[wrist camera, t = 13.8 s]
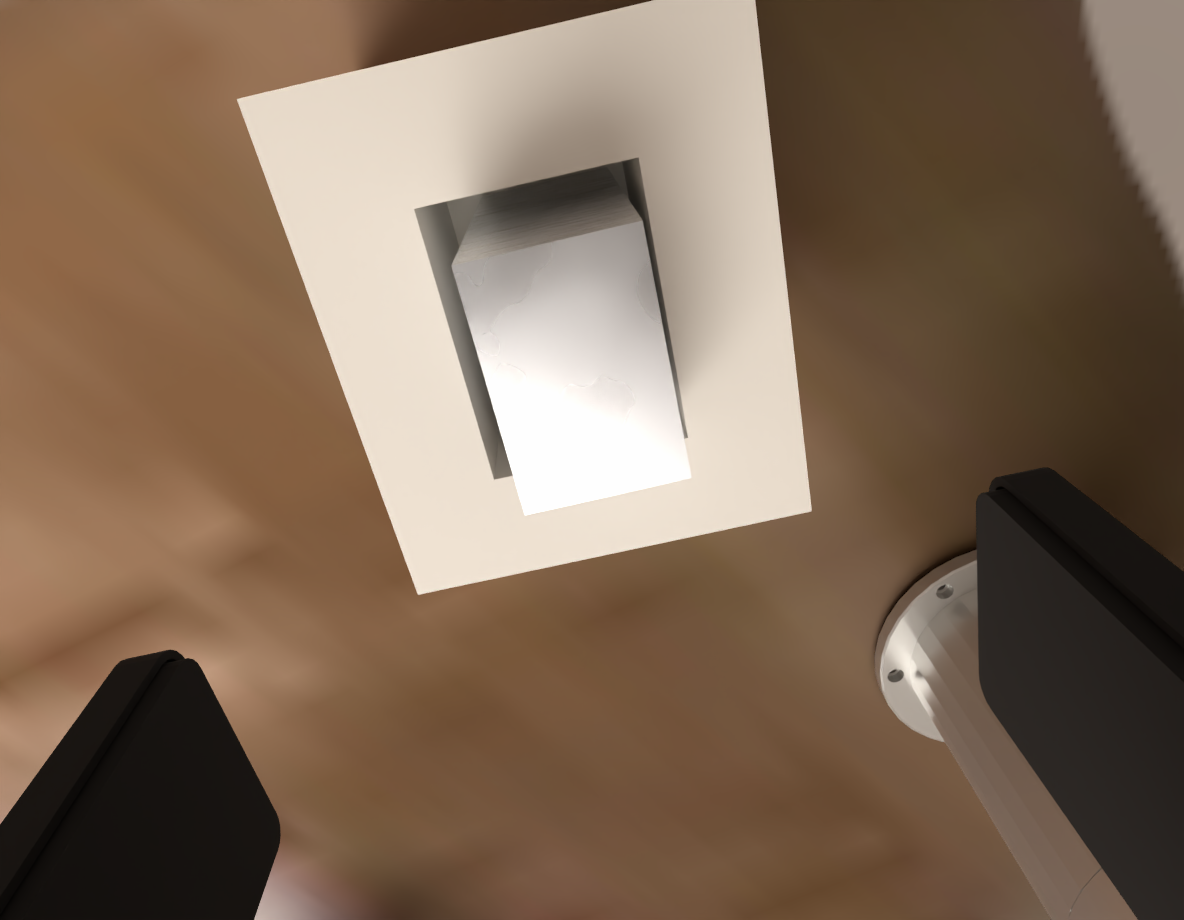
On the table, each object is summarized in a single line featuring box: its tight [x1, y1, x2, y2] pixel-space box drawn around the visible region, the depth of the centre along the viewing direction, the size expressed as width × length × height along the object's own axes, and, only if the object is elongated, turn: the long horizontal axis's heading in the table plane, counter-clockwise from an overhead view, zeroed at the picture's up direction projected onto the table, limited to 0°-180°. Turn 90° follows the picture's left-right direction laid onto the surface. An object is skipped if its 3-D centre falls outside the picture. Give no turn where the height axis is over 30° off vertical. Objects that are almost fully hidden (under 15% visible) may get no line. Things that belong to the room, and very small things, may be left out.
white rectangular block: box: [451, 167, 692, 515], centre depth 23 cm, size 4×6×10 cm, turn 13°
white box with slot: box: [237, 0, 812, 595], centre depth 28 cm, size 12×14×14 cm
